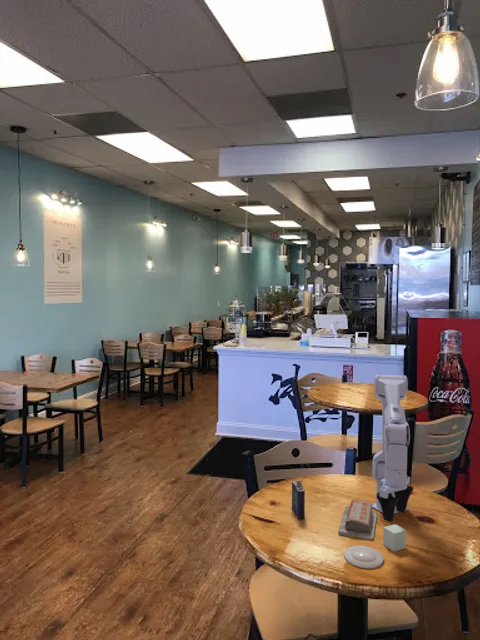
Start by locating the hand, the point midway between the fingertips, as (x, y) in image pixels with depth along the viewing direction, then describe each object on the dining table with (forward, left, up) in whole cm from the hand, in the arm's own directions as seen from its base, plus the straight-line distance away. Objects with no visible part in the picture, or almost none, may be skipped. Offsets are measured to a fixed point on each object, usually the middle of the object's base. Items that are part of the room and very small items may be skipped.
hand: (394, 516), depth 134 cm
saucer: (+12, +1, -8) cm, 15 cm away
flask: (+12, -29, -9) cm, 32 cm away
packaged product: (0, -15, -9) cm, 17 cm away
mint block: (0, 0, -8) cm, 9 cm away
